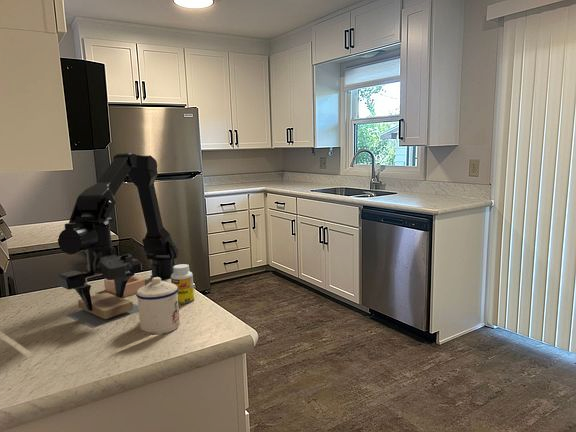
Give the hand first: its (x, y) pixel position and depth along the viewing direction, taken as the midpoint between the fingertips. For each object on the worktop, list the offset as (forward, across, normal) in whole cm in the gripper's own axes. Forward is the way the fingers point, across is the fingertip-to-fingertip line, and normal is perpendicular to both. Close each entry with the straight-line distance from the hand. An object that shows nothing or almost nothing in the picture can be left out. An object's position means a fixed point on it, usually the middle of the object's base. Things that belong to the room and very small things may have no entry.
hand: (105, 305), depth 105 cm
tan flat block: (+1, 0, 0) cm, 1 cm away
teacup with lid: (+3, +4, -17) cm, 18 cm away
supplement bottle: (+3, +16, -10) cm, 19 cm away
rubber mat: (+2, 0, 0) cm, 2 cm away
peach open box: (+2, +12, +12) cm, 17 cm away
